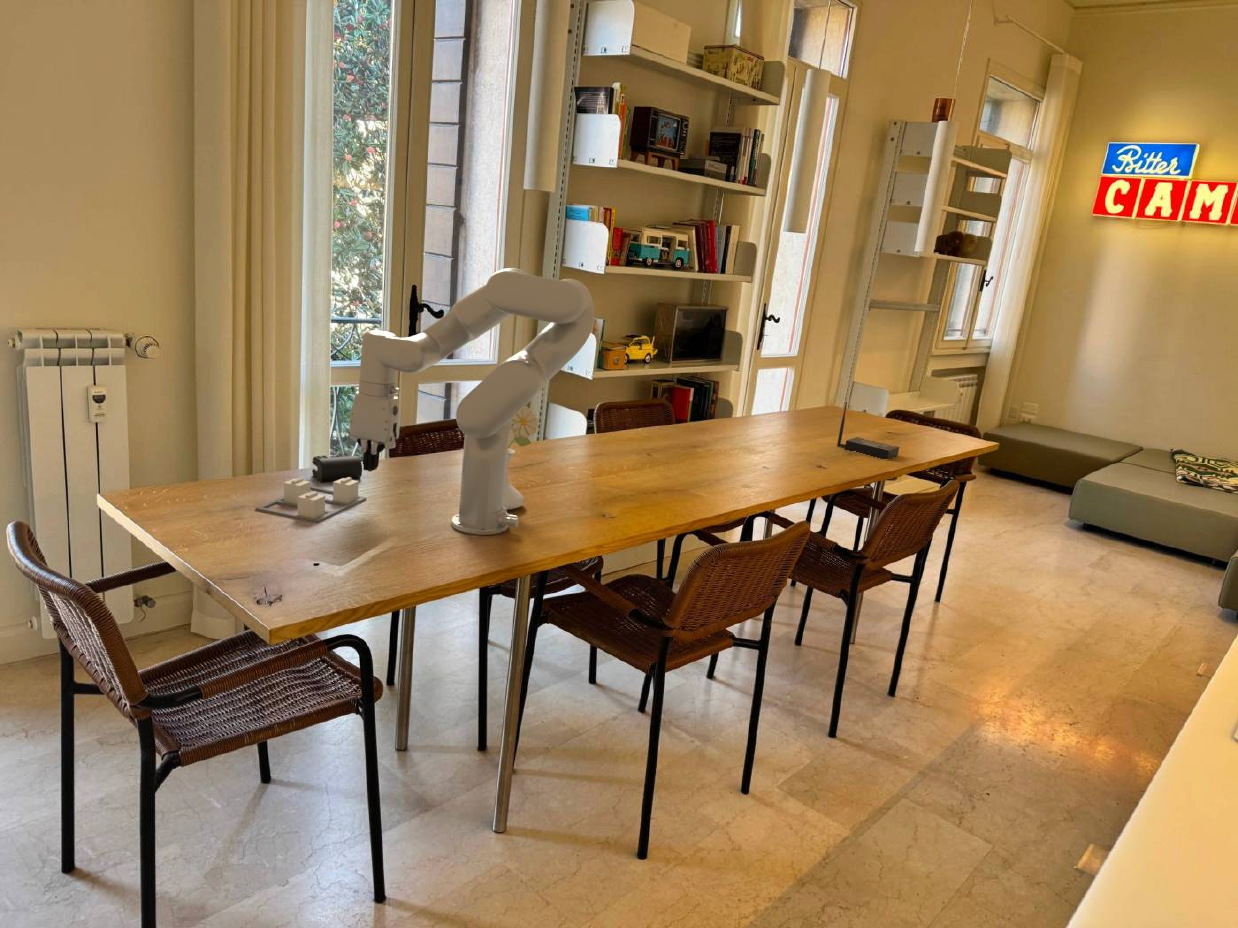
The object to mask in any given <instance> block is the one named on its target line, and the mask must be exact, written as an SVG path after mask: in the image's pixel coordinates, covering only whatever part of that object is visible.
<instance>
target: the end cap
mask: <svg viewBox="0 0 1238 928" xmlns="http://www.w3.org/2000/svg"><path fill="white" fill-rule="evenodd" d="M312 465H314V466H316V468H317V469H315V468H312V470H311V471H312V475H313V476H314V477H315V478H316V480H317V482H319V483H321V484H322V483H330V482H331V483H332V482H335V481H337V480H340V479H342V478H348V477H351V478H352V480H360V479H361V478H362V476H363V463H362V460H361V459H360V457H359V455H350V454H347V453H343V454H342V453H339V454H336V457H335V456H333V457H328V456H327V455H316V456H314V457H313V458H312Z"/></svg>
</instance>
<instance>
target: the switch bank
mask: <svg viewBox="0 0 1238 928" xmlns="http://www.w3.org/2000/svg"><path fill="white" fill-rule="evenodd" d="M310 491H315V492H320V493H325V494H329V495H333V490H331V489H327V488H323V487H317V486H316V487H315V486H312V485H310ZM364 501H367V497H364V496H362V495H361V496H360V495H358V499H357V500H355V501H353V502H350V503H344V502H339V501H334V500H333V499H328V498H325V504H327V503H328V504H332V505H337V506H340V507H338V508H335V509H334V510H326V509H325V515H323V516H321V517H319V518H316V519H313V518H309V517H304V516H299V515H298V514H294V513H289V512H284V511H279V510H275V509H270V507H272V506H275V505H282V506H286V507H290V508H294V509H295V508H296V509H298V504H294V503H289V502H285V501H284V495H283V496H280V497H278V498H275V499H273V500H271V501H268V502H266V503H263V504H261V505H258V506H256V507H255V509H254V510H255V511H259V512H263V513H268V514H271V515H276V516H281V517H286V518H291V519H296V520H300V521H305V522H309V523H313V524H320V523H321V522H323V521H326V520H328V519H330V518H331V517H333V516H336V515H338V514H340V513H342V512H345V511H346V510H348V509H350V508H353V507H354V506H357V505H359V504H361V503H363V502H364Z"/></svg>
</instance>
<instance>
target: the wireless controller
mask: <svg viewBox="0 0 1238 928" xmlns="http://www.w3.org/2000/svg"><path fill="white" fill-rule="evenodd" d="M847 407H848V402H847V401H846V402H845V405H844V408H843V409H844V410H843V413H842V414H843V415H842V419H841V422H840V428H839V432H838V433H839V434H838V439H837V445H836V447H837V446H840V447H841V448H844V450H845V451H847V450H849V451H848V452H851V451H856V452H859V453H863V454H866V455H865V456H867V455H870V456H869V457H871V456H873V457H872V458H875V457H877V459H879V458H880V459H879V460H883V459H890V460H892V459H894V458H893V457H895V456H897V455H898V456H899V450H900V446H897V445H894V446H893V445H891V444H885V443H882V442H877V441H874V440H869V439H864V438H862V437H859V436H856V437H853V438H849V439H847V440H846V441H845V443H842V438H843V431H844V426H845V419H846V410H847ZM859 453H858V454H859ZM863 454H862V455H863ZM891 458H892V459H891ZM895 458H896V457H895Z"/></svg>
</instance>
